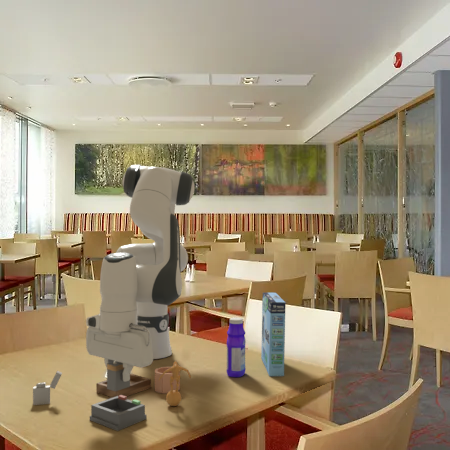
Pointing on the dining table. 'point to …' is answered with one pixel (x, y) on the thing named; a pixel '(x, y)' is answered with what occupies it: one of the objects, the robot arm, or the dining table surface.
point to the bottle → (236, 348)
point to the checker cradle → (118, 412)
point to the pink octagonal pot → (164, 381)
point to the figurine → (173, 395)
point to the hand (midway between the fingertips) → (118, 378)
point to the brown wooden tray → (135, 386)
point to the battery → (115, 376)
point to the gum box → (273, 334)
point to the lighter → (44, 390)
